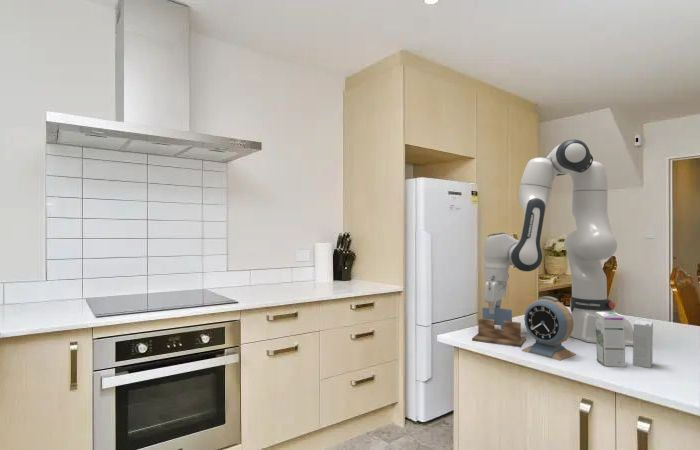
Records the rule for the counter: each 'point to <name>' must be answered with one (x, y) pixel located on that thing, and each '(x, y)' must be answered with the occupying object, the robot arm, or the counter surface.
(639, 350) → the skincare box
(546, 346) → the alarm clock
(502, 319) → the blue slotted plate
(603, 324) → the syrup box
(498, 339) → the walnut joint base
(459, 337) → the counter surface
